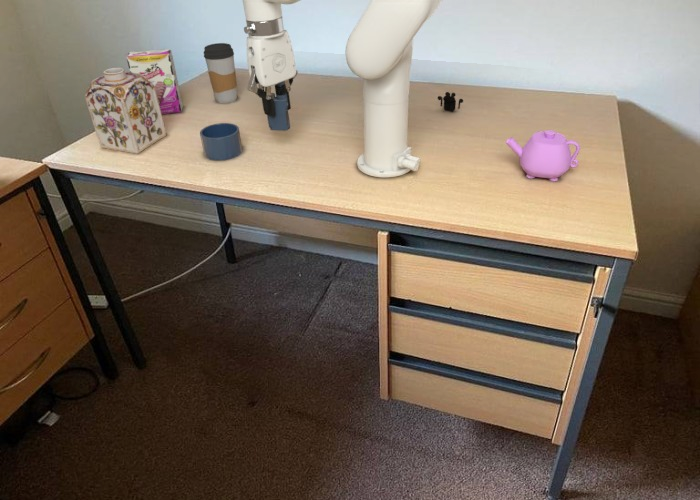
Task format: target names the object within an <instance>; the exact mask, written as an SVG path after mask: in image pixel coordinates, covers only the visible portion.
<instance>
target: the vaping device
mask: <svg viewBox="0 0 700 500" xmlns="http://www.w3.org/2000/svg"><path fill="white" fill-rule="evenodd" d="M274 91H275V92H271V98H272V99H273V100H274V106H275V113H276V115H275V116H269V115H266V117H267V123H268V128H269V129H270V131H275V132H276V131H277V132H278V131H279V132H282V131H283V132H284V131H289V130H290V129H291V122H290V121H291V120H290V114H289V113H290V112H289V110H288V100H287V94H286V86H285V81H284V82H281V83H278V84H276V85H274Z"/></svg>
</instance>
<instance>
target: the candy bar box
mask: <svg viewBox="0 0 700 500" xmlns="http://www.w3.org/2000/svg"><path fill="white" fill-rule="evenodd" d="M125 58H126V62H127V65H128V69H129V72H132V73H139V74H141V75H142V76H143V77H144V78H146V79H147V80H148V81H150V82H151V83H152V84H153V85H154V87H155V91H156V95H157V98H158V102H159V106H160V110H161V114H162V115H169V114H179V113H180V114H181V113H183V109H184V104H183V99H182V93H181V89H180V86H179V81H178V75H177V72H176V66H175V62H174V56H173V52H172V49H171V48H166V49H165V48H163V49H153V50H152V49H151V50H138V51H137V50H136V51H129V52H128V53H127V55H126V57H125Z"/></svg>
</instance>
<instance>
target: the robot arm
mask: <svg viewBox="0 0 700 500" xmlns="http://www.w3.org/2000/svg"><path fill="white" fill-rule="evenodd" d="M300 1H301V0H242V3H243V10H244V16H245V22H246V26H244V27H243V31H244V33H245V34H247V35H248V36H247V37H246V60H247V68H248V69H247V70H248V75H249V80H248V84H247V87H246V89H247V91H248V92H252V93H253V94H255V95H257V96H258V97H259V98H260V99H261V102H262V103H261V104H262V109H263V113H264V114H265V115H266V116H267V115H269V116H275V115H276V113H275V106H274V100H273V99H272V98H271V93H272V87H273V86H275V85H276V84H278V83H281V82H284V81H285V86H286V94H287V100H288V111H290V110H291V109H292V106H291V98H290V92H291V90H292V87H291V86H292V84H293V82H294V79H295V78H296V77H297V76H298V72H299V71H298V70H297V66H296V60H295V55H294V49H293V44H292V42H291V39H290V35H289V33H288V30H287V29H285V27H284V20H283V11H282V5H294V4H296V3H298V2H300ZM442 2H443V0H370V2H369V3H368V5H367V6H366V8H365V10H364V11H363V13H362V15H361V16H360V18H359V20H358V21H357V23H356V25H355V26H354V27H353V29H352V31H351V32H350V35H349V36H348V38H347V41H346V46H345V51H344V52H345V53H344V54H345V60H346V63H347V66H348V68H349V69H350V71H351V72H352V73H353V75H355V76H357V77H359V78H360V79H362V126H363V128H362V129H363V153H362V154H361V155H359V156H358V158H357V160H356V165H357V166H356V167H357V169H358V170H359V171H360V172H361V173H363V174H365V175H367V176H370V177H375V178H396V177H401V176H403V175H405V174H407V173H409V172H410V171H413V172H417V171H418V170H419V169H420V164H421V160H422V159H421V157H418V156H414V155H413V154H412V147H411V146H408V143H409V142H408V138H409V101H410V100H409V99H410V80H411V79H410V78H411V66H412V59H413V51H414V38H415V36H416V35H417V33H419V31H420V29H421V28H422V27H423V25H424V24H425V23H426V22H427V21H428V20H429V19H431V17H433V16H434V14H435V13H436V12H437V10H438V9H439V8H440V6H441V4H442ZM257 85H258V86H257Z"/></svg>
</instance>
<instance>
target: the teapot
mask: <svg viewBox="0 0 700 500" xmlns="http://www.w3.org/2000/svg"><path fill="white" fill-rule="evenodd" d="M505 144H506V145H507V146H508V148H510V149H511V151H512V152H513V153H514V154H516V155H517V156H518V158H519V164H520V166H521V168H522V170H523V171H524V173H526V178H527V179H535V178H544V179H548V180H549V181H551V182H558V181H559V178H560V177H562V176H563V175H564V174H565V173H567V172H568V171H569V169H570V168H577V167H578V165H579V163H580V162H579V160H578V159H577V156H578V154H579V153H580V150H581V146H580V143H579V142H578V141H576V140H573V139H570V140H567V138H566V136H565V135H564V134H562V133H560V132H557V131H555V130H552V129H547V130H540V131H536V132H535V133H533V134H532V136H530V138H529V139H528V140H527V142H526V143H525V144H524V146H523V147H522V146H521V145H520V144H519V143H518V142H517V141H516V139H515V138H514V137H513V136H512V137H509V138H508V139H507V140H506V141H505ZM570 145H573V146H575V151H574V152H573V154H572V152H571V149H570Z"/></svg>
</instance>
